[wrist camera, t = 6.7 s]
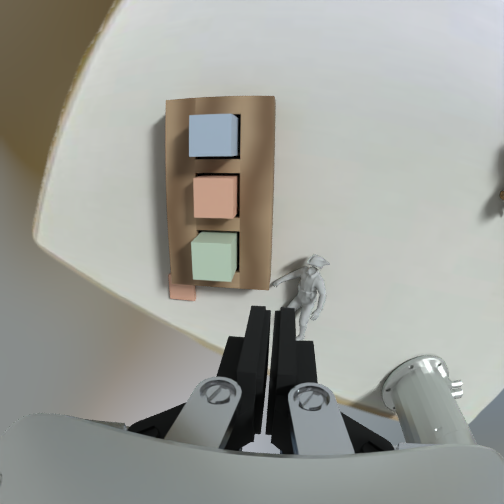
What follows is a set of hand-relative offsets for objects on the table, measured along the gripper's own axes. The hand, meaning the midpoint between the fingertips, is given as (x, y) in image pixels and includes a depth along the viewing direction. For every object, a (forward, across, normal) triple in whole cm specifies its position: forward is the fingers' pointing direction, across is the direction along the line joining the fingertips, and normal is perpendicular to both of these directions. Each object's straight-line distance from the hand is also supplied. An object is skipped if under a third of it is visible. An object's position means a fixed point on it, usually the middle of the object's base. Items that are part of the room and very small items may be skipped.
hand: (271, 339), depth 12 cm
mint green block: (+25, +7, +5) cm, 26 cm away
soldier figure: (+27, -3, +11) cm, 30 cm away
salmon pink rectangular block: (+27, +7, -2) cm, 27 cm away
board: (+27, +7, -2) cm, 28 cm away
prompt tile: (+27, +13, +11) cm, 32 cm away
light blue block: (+25, +7, -9) cm, 27 cm away
